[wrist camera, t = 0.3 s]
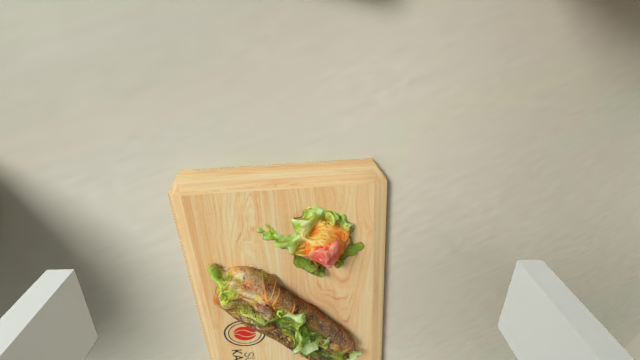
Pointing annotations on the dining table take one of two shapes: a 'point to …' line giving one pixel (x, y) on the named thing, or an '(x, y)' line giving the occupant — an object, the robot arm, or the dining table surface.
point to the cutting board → (286, 258)
